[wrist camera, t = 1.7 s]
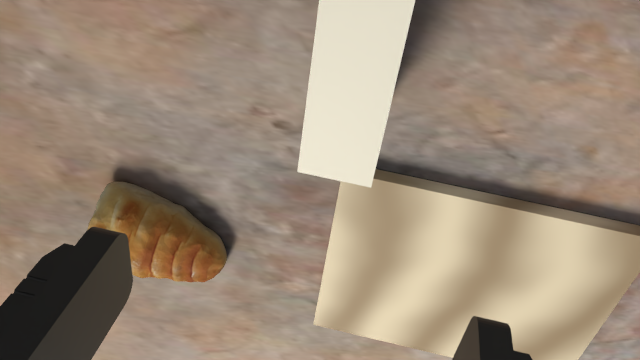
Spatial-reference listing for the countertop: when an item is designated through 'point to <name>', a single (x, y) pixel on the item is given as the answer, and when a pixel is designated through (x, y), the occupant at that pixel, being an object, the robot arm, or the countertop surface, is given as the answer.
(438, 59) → the countertop surface
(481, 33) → the countertop surface
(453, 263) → the board
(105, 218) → the pastry
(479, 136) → the countertop surface
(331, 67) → the slab
